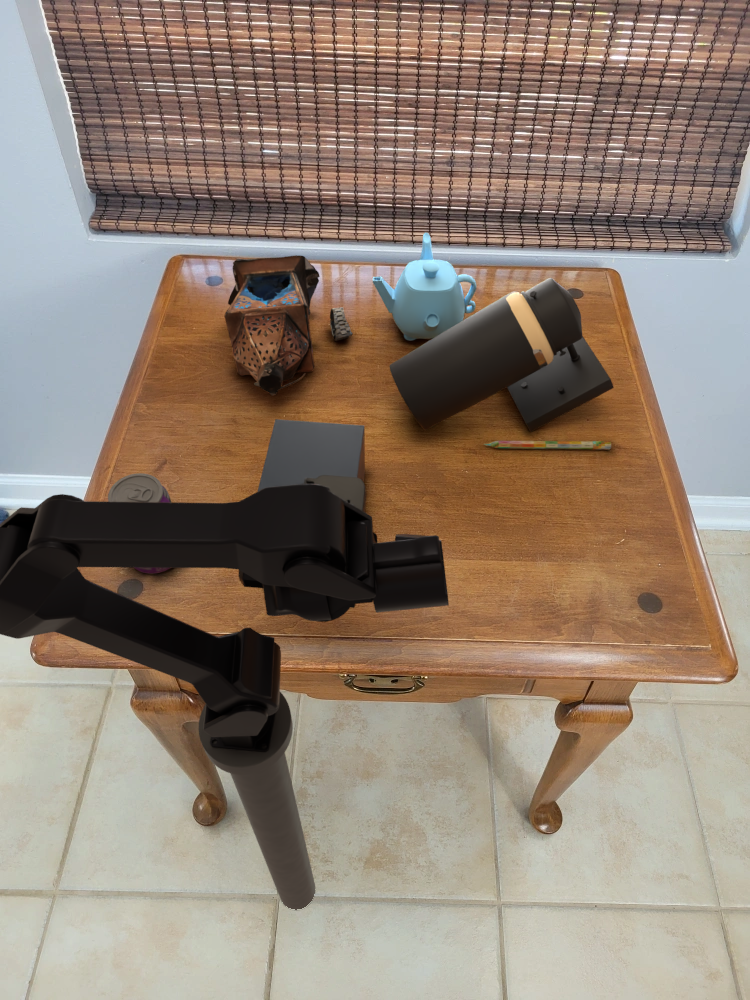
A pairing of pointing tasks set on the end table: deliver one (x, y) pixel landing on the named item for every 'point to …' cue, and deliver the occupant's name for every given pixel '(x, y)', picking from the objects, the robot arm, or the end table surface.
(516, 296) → the light fixture
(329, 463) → the cabinet
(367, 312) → the end table surface
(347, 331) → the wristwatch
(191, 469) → the end table surface
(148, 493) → the beverage can
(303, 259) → the lantern
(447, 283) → the teapot
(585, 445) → the pencil
